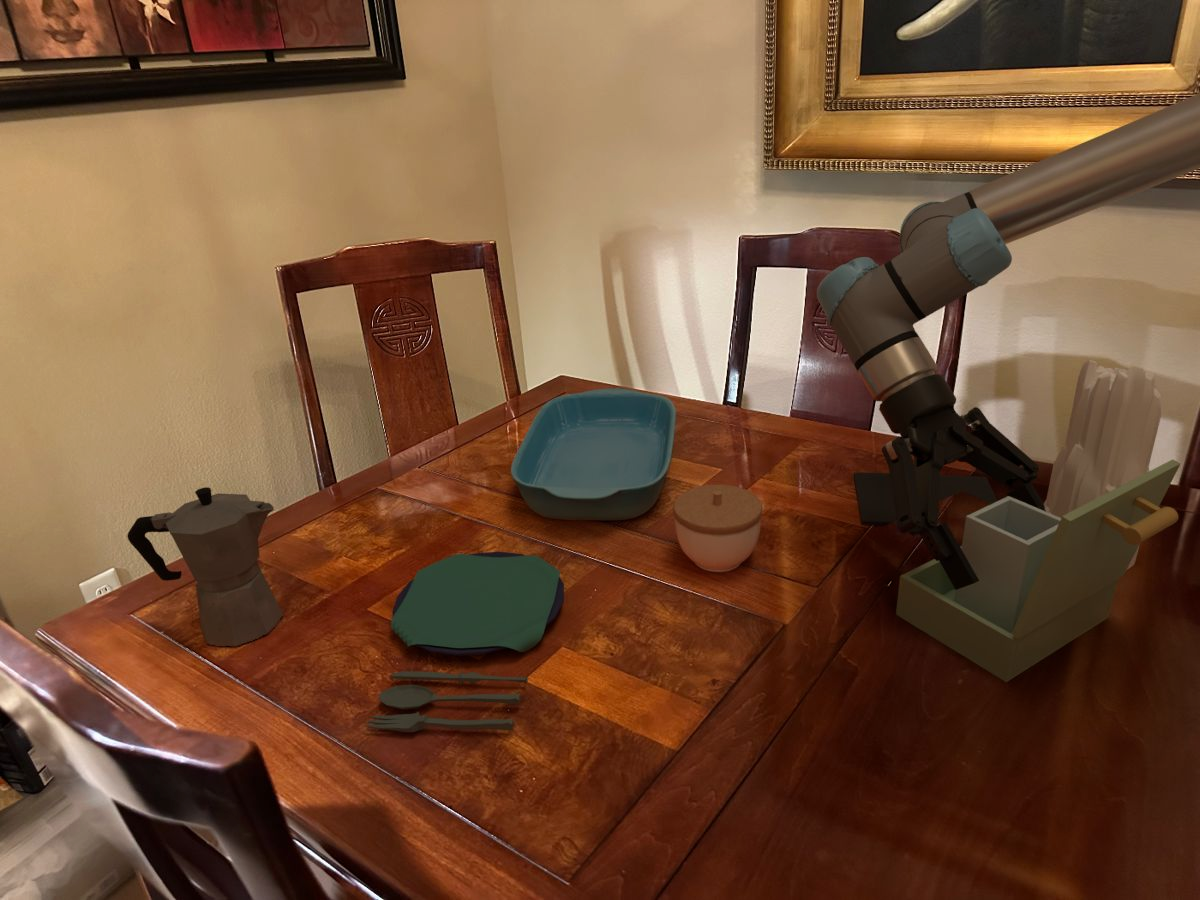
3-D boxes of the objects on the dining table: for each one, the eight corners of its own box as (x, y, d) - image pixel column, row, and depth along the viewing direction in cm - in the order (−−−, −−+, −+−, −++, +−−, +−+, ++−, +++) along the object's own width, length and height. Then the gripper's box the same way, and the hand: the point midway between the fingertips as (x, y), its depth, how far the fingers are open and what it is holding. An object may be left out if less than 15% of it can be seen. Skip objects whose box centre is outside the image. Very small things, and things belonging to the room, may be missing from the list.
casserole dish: (667, 541, 109) (666, 493, 106) (500, 538, 113) (494, 491, 110) (680, 425, 142) (680, 386, 139) (551, 426, 146) (547, 387, 142)
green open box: (895, 619, 92) (899, 575, 90) (995, 565, 100) (1002, 524, 98) (1005, 687, 82) (1013, 640, 79) (1108, 621, 90) (1118, 577, 87)
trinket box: (778, 554, 105) (780, 488, 101) (727, 594, 98) (727, 524, 94) (708, 527, 112) (708, 464, 108) (657, 562, 105) (654, 496, 101)
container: (951, 611, 92) (965, 515, 87) (992, 588, 95) (1008, 495, 90) (1009, 644, 86) (1028, 544, 81) (1051, 619, 90) (1071, 522, 84)
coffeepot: (305, 591, 104) (271, 461, 96) (296, 638, 96) (259, 499, 88) (173, 613, 102) (128, 481, 94) (152, 662, 93) (101, 522, 86)
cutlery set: (577, 565, 106) (576, 549, 105) (532, 742, 79) (530, 724, 78) (425, 562, 108) (422, 547, 107) (331, 734, 82) (326, 716, 81)
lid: (1061, 516, 72) (1111, 545, 68) (1172, 459, 79) (1221, 483, 76) (1011, 633, 79) (1053, 664, 76) (1116, 571, 87) (1158, 597, 84)
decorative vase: (1039, 522, 108) (1074, 336, 97) (1136, 541, 103) (1184, 346, 92) (1028, 564, 100) (1066, 366, 89) (1133, 587, 95) (1186, 380, 84)
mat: (985, 480, 119) (986, 476, 119) (1008, 531, 107) (1009, 527, 106) (853, 475, 123) (853, 472, 122) (861, 524, 110) (861, 520, 110)
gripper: (958, 378, 102) (1054, 536, 97) (806, 432, 91) (904, 614, 85) (1004, 347, 95) (1109, 514, 90) (846, 401, 84) (956, 595, 79)
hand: (1010, 563), depth 88 cm, fingers open, 13 cm apart
